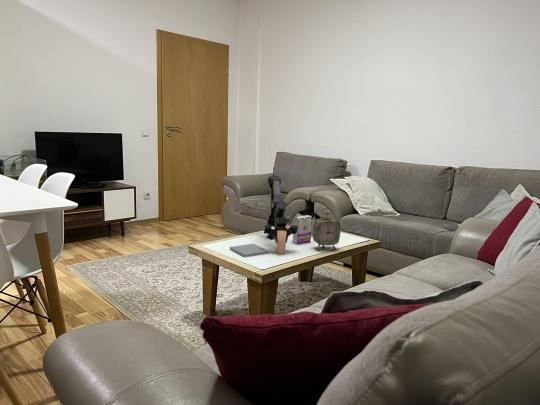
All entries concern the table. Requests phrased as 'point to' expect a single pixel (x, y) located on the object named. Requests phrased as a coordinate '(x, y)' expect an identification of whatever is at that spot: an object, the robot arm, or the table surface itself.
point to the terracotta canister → (281, 242)
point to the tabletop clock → (326, 230)
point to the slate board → (249, 250)
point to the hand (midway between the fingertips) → (281, 242)
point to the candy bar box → (302, 229)
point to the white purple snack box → (312, 219)
